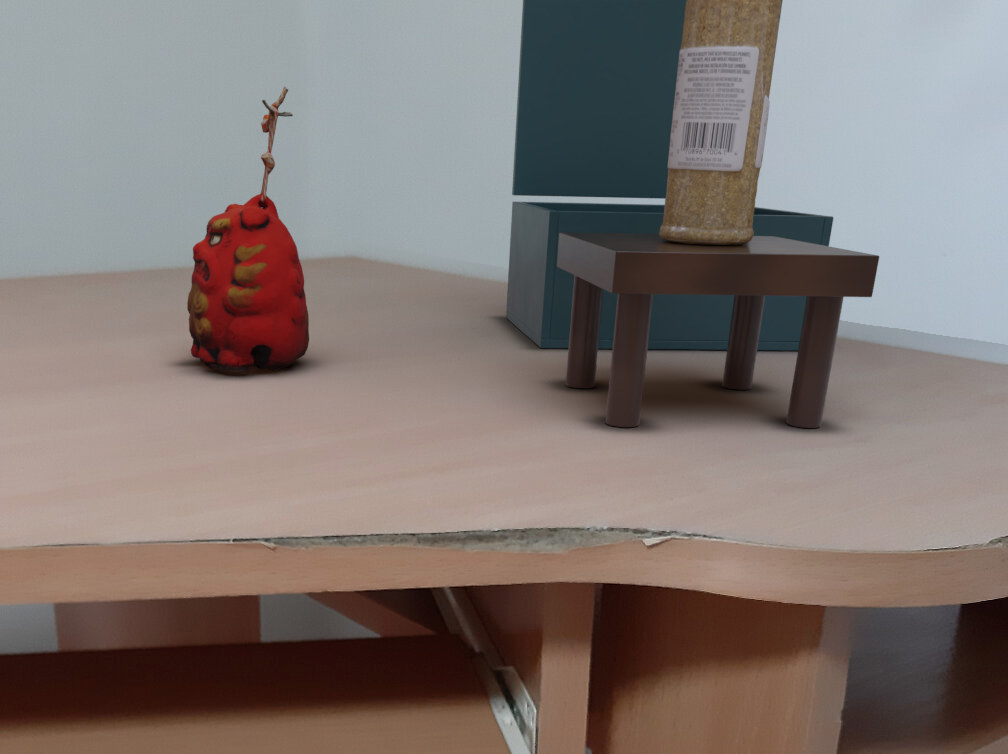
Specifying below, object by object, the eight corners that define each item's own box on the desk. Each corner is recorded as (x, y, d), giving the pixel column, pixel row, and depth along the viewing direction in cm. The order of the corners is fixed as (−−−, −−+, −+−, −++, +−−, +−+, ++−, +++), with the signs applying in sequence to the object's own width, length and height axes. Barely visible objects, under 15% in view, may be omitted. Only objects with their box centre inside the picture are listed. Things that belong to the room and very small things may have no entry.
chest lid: (786, -25, 75) (781, -23, 76) (526, -35, 74) (524, -33, 75) (754, 200, 81) (750, 200, 82) (513, 195, 80) (511, 195, 80)
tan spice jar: (769, 244, 52) (815, -75, 47) (720, 248, 49) (764, -92, 44) (688, 237, 55) (724, -63, 50) (637, 241, 52) (670, -78, 47)
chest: (811, 351, 72) (834, 216, 69) (540, 348, 71) (549, 210, 67) (736, 320, 85) (752, 206, 82) (505, 317, 84) (512, 201, 80)
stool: (752, 381, 61) (774, 236, 58) (847, 432, 50) (879, 255, 47) (548, 380, 60) (559, 232, 57) (599, 431, 49) (615, 251, 46)
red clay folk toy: (174, 358, 64) (157, 83, 58) (283, 351, 67) (277, 89, 62) (215, 380, 58) (200, 76, 52) (332, 372, 61) (330, 83, 55)
